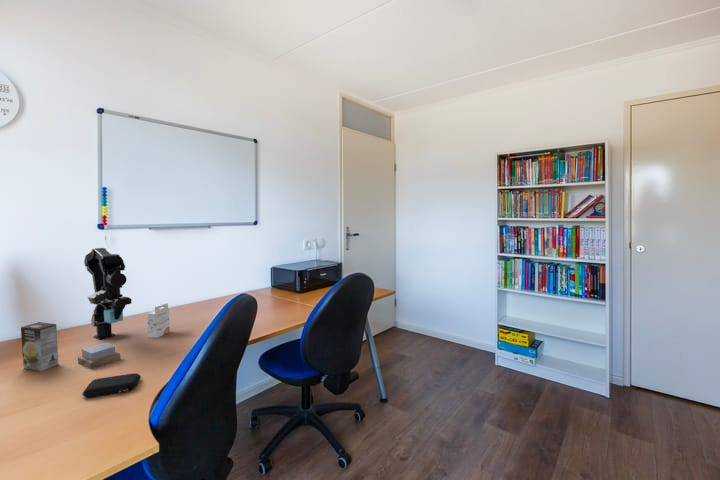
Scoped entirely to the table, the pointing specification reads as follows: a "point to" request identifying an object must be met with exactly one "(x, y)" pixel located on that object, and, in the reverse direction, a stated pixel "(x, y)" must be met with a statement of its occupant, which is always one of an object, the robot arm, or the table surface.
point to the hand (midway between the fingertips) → (113, 318)
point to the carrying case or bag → (112, 385)
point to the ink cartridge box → (158, 321)
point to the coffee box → (39, 346)
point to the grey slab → (98, 351)
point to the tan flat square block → (98, 361)
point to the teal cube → (111, 316)
